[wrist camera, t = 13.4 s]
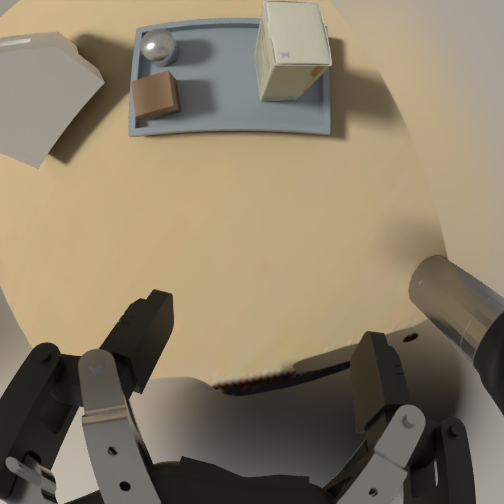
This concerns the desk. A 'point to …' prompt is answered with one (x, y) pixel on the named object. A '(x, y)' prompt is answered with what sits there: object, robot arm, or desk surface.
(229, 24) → the blue-grey serving tray
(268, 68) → the skincare box
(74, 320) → the desk surface
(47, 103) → the slotted wedge
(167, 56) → the chrome dome knob
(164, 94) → the walnut block
